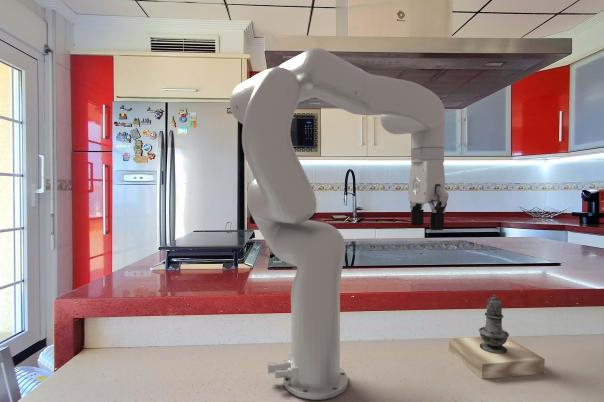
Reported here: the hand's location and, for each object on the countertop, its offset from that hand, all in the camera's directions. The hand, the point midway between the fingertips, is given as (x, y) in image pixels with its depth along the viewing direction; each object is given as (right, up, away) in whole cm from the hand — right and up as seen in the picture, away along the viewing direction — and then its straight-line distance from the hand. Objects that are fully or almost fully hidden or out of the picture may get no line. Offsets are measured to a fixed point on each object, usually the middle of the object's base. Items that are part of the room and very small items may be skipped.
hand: (426, 227), depth 89 cm
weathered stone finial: (+11, -26, -9) cm, 30 cm away
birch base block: (+12, -29, -9) cm, 32 cm away
